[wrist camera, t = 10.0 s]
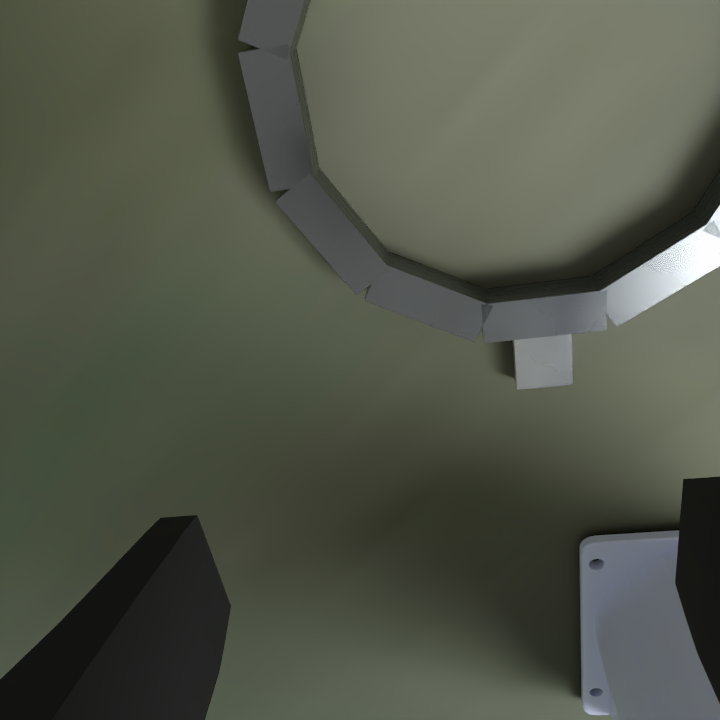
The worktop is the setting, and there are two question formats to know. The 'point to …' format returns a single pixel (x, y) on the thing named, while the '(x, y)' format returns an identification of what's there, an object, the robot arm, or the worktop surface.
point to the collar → (425, 285)
